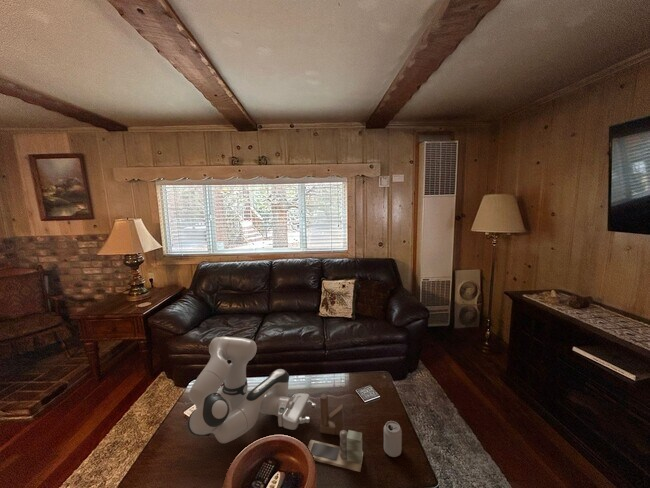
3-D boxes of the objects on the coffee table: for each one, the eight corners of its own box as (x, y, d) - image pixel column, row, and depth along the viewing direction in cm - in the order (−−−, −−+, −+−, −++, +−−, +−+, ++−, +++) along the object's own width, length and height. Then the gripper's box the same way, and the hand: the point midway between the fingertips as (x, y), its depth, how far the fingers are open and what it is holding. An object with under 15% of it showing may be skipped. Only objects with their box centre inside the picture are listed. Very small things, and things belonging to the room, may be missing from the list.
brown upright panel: (342, 436, 124) (342, 401, 121) (320, 433, 126) (319, 398, 123) (343, 429, 128) (343, 395, 125) (321, 427, 129) (320, 393, 127)
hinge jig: (304, 457, 114) (303, 432, 112) (310, 441, 121) (309, 417, 120) (360, 472, 107) (360, 445, 105) (363, 454, 115) (363, 429, 113)
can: (381, 443, 119) (381, 419, 118) (397, 442, 120) (398, 418, 118) (386, 459, 112) (386, 434, 110) (404, 457, 113) (404, 432, 111)
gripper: (294, 399, 142) (319, 403, 138) (277, 429, 122) (305, 435, 119) (294, 388, 141) (318, 392, 137) (276, 416, 122) (305, 422, 118)
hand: (312, 412), depth 128 cm, fingers open, 8 cm apart
